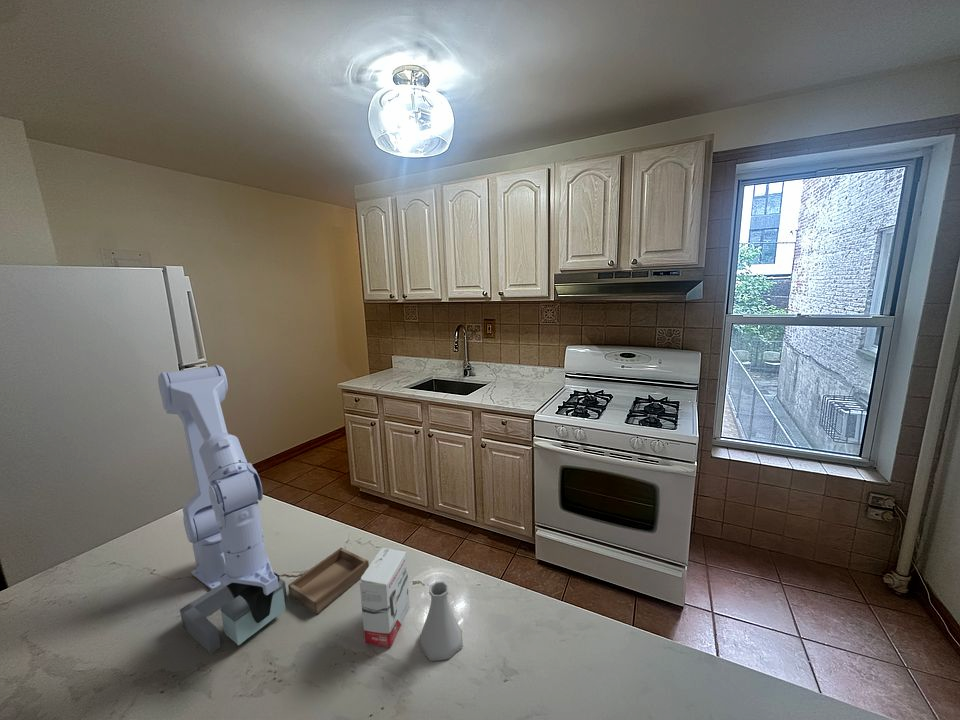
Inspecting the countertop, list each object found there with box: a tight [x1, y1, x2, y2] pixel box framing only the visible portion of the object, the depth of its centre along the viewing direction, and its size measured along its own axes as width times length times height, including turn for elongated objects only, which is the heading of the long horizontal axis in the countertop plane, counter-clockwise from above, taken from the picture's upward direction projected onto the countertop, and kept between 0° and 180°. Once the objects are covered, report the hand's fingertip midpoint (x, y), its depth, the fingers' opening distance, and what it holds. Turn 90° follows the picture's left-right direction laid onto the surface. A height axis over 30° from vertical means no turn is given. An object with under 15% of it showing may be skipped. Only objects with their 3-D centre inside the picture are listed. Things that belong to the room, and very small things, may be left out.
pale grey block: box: [220, 583, 286, 646], centre depth 64 cm, size 4×8×5 cm, turn 149°
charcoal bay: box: [179, 578, 288, 654], centre depth 67 cm, size 10×13×4 cm
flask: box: [419, 580, 463, 662], centre depth 60 cm, size 7×7×10 cm
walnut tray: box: [287, 547, 370, 616], centre depth 74 cm, size 9×12×2 cm
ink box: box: [359, 547, 411, 648], centre depth 63 cm, size 9×5×12 cm, turn 168°
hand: (254, 612), depth 64 cm, fingers closed on pale grey block, 4 cm apart
